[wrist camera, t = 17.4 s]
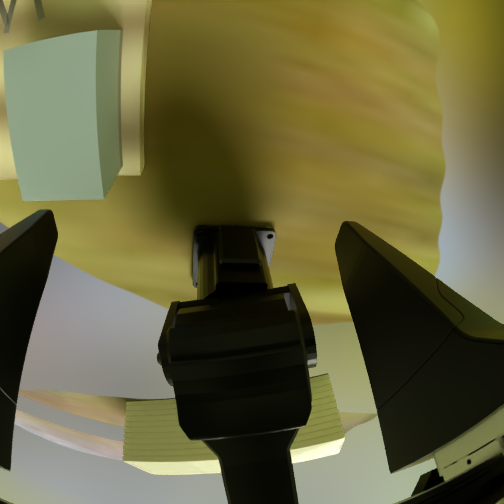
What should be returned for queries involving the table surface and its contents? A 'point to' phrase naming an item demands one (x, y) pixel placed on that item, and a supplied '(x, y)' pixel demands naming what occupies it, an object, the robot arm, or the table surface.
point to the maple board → (76, 21)
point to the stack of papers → (199, 455)
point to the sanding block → (65, 115)
